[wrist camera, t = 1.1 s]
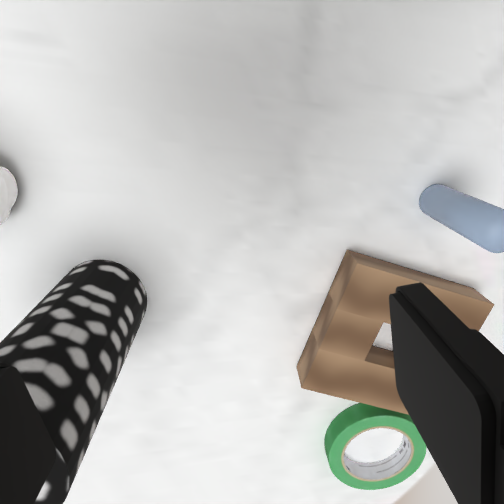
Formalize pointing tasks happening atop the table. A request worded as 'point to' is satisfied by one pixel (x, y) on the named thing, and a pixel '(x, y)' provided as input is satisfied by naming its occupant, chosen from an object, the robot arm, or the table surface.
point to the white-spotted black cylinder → (76, 358)
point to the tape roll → (377, 472)
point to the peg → (465, 216)
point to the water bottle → (7, 193)
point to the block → (370, 329)
